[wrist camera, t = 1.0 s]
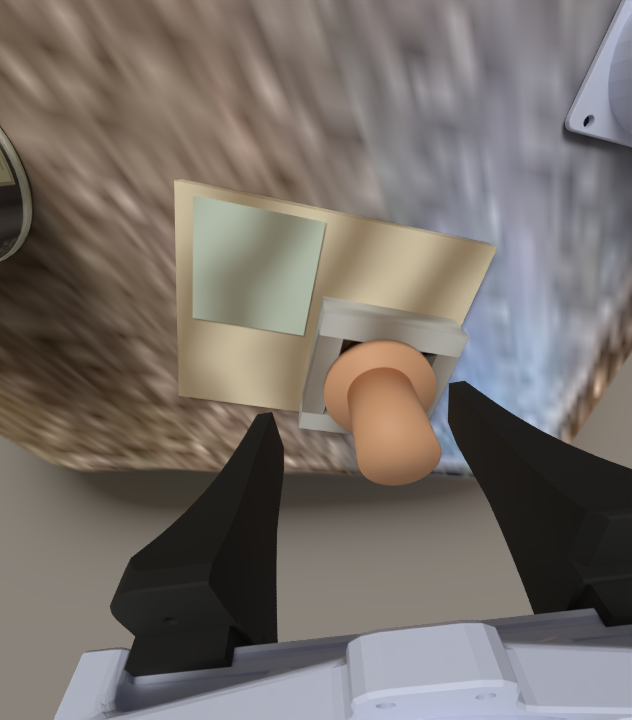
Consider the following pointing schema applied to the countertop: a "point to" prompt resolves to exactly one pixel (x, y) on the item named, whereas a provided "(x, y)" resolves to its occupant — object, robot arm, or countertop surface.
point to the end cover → (385, 409)
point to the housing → (308, 296)
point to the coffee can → (13, 200)
